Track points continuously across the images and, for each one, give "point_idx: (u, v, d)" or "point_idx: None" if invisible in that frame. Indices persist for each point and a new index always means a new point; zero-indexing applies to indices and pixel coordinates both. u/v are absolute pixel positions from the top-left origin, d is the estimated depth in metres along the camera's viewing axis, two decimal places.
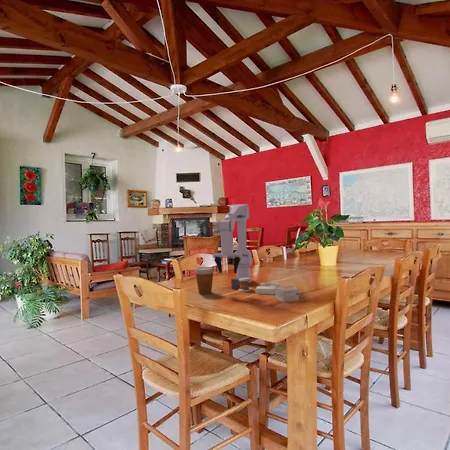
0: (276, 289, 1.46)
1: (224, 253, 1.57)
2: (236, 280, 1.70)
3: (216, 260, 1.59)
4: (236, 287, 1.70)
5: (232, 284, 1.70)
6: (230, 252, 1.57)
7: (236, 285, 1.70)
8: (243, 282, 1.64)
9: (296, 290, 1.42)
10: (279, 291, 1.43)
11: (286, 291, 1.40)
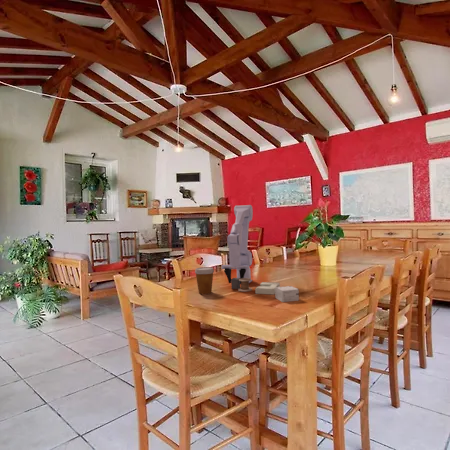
0: (276, 289, 1.46)
1: (232, 265, 1.69)
2: (236, 280, 1.70)
3: (226, 271, 1.71)
4: (236, 287, 1.70)
5: (232, 284, 1.70)
6: (238, 264, 1.69)
7: (236, 285, 1.70)
8: (243, 282, 1.64)
9: (296, 290, 1.42)
10: (279, 291, 1.43)
11: (286, 291, 1.40)
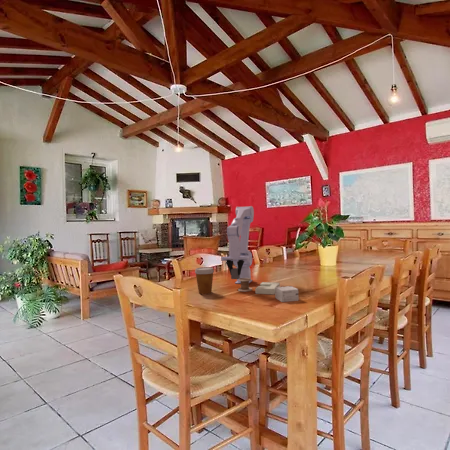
0: (276, 289, 1.46)
1: (232, 256, 1.69)
2: (236, 270, 1.69)
3: (228, 263, 1.70)
4: (236, 277, 1.70)
5: (231, 274, 1.70)
6: (237, 255, 1.69)
7: (236, 275, 1.70)
8: (243, 282, 1.64)
9: (295, 290, 1.41)
10: (278, 291, 1.43)
11: (285, 291, 1.40)
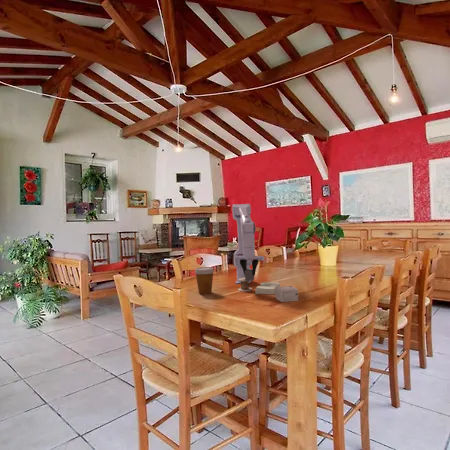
0: (276, 289, 1.46)
1: (246, 256, 1.58)
2: (250, 271, 1.58)
3: (241, 262, 1.59)
4: (250, 279, 1.58)
5: (245, 276, 1.59)
6: (252, 255, 1.58)
7: (250, 276, 1.58)
8: (243, 282, 1.64)
9: (295, 290, 1.41)
10: (278, 291, 1.43)
11: (285, 291, 1.40)
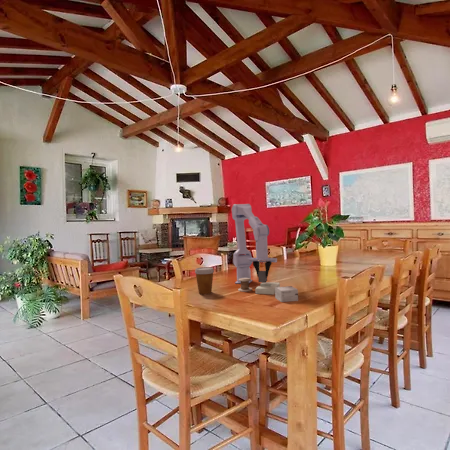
0: (276, 289, 1.46)
1: (259, 257, 1.61)
2: (263, 273, 1.62)
3: (255, 264, 1.63)
4: (263, 280, 1.62)
5: (259, 277, 1.63)
6: (265, 257, 1.62)
7: (263, 278, 1.62)
8: (243, 282, 1.64)
9: (295, 290, 1.41)
10: (278, 291, 1.43)
11: (284, 291, 1.40)
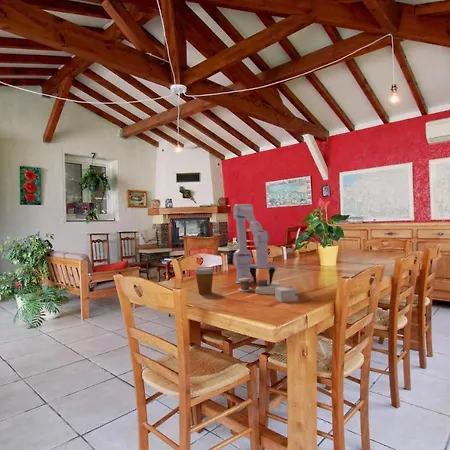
0: (276, 289, 1.46)
1: (260, 264, 1.62)
2: (264, 282, 1.62)
3: (251, 271, 1.63)
4: None
5: None
6: (265, 263, 1.62)
7: None
8: (243, 282, 1.64)
9: (295, 290, 1.41)
10: (278, 291, 1.43)
11: (284, 291, 1.40)
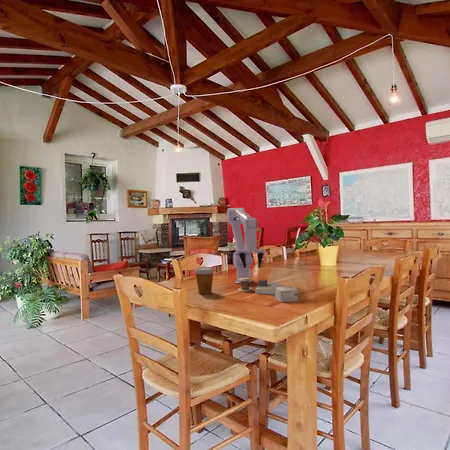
0: (275, 289, 1.46)
1: (249, 249, 1.69)
2: (264, 282, 1.62)
3: (241, 256, 1.71)
4: None
5: None
6: (254, 248, 1.69)
7: None
8: (243, 282, 1.64)
9: (294, 290, 1.41)
10: (277, 291, 1.43)
11: (284, 291, 1.40)
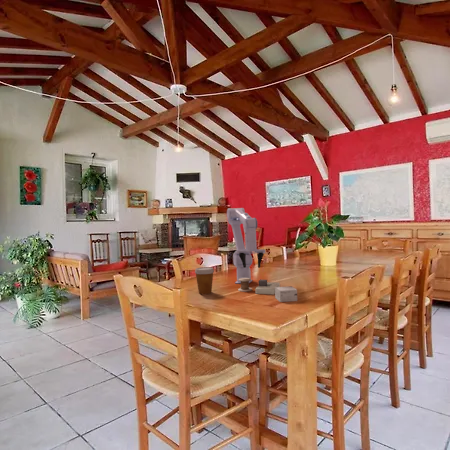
0: (275, 289, 1.46)
1: (248, 249, 1.69)
2: (264, 282, 1.62)
3: (241, 256, 1.71)
4: None
5: None
6: (254, 248, 1.69)
7: None
8: (243, 282, 1.64)
9: (294, 290, 1.41)
10: (277, 291, 1.43)
11: (283, 291, 1.40)
